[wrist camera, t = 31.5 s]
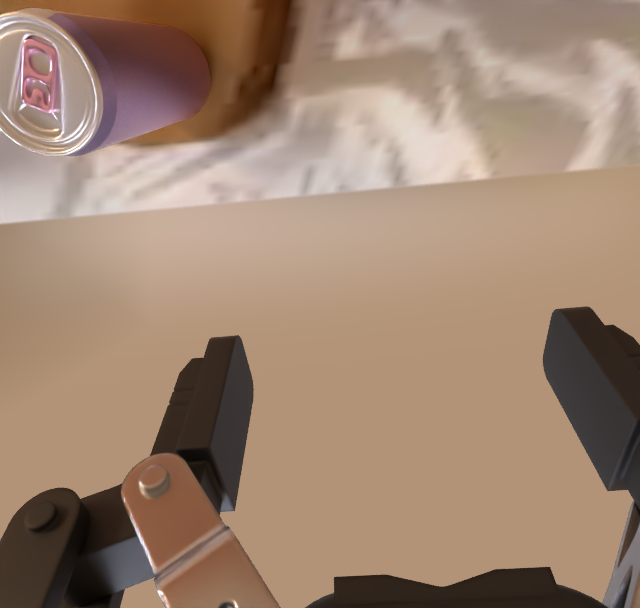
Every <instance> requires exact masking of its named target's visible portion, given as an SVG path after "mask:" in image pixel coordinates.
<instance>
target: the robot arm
mask: <svg viewBox="0 0 640 608" xmlns="http://www.w3.org/2000/svg"><path fill="white" fill-rule="evenodd" d="M543 366H544V371H545V374H546V378H547V380H548V382H549V383H550V385H551V387H552V389H553V391H554V393H555V395H556V396H557V398H558V400H559V402H560V404H561V405H562V408H563V409H564V411H565V413H566V415H567V417H568V419H569V420H570V422H571V424H572V426H573V428H574V430H575V431H576V433H577V435H578V437H579V439H580V441H581V443H582V445H583V446H584V448H585V450H586V452H587V454H588V456H589V457H590V459H591V461H592V463H593V465H594V467H595V468H596V470H597V472H598V474H599V476H600V478H601V480H602V482H603V483H604V485H605V487H606V489H607V490H608V491H615V490H628V491H629V493H630V494H631V496H632V498H633V499H634V501H633V503H632V505H631V507H630V511H629V514H628V518H627V522H626V526H625V529H624V533H623V536H622V540H621V544H620V548H619V551H618V555H617V559H616V562H615V566H614V570H613V573H612V577H611V580H610V583H609V586H608V588H607V591H606V593H605V596H604V599H603V602H602V603H601V602H599V601H597V600H595V599H594V598H592V597H590V596H587V595H585V594H583V593H581V592H579V591H577V590H574V589H571V588H568V587H565V586H562V585H557V584H556V582H555V579H554V577H553V574H552V571H551V569H550V567H538V568H518V569H517V568H516V569H496V570H493V571H490V572H487V573H484V574H481V575H478V576H475V577H472V578H470V579H467V580H464V581H461V582H458V583H455V584H452V585H450V586H445V587H439V586H434V585H429V584H425V583H421V582H416V581H412V580H407V579H403V578H398V577H394V576H390V575H369V576H347V577H334V593H333V594H330V595H327V596H324V597H322V598H320V599H319V600H316V601H314V602H313V603H311V604H310V605H308V606H307V607H306V608H640V345H639V344H638V343H637V341H636V340H635V339H634V338H633V337H632V336H630V335H628V334H627V333H625V332H624V331H622V330H621V329H619V328H617V327H616V326H614V325H604V324H603V323H602V322H601V320H600V319H599V318H598V316H597V315H596V314H595V312H594V311H593V310H592V309H591V308H590V307H576V308H564V309H556V310H554V312H553V313H552V317H551V321H550V325H549V330H548V335H547V340H546V344H545V349H544V354H543ZM169 403H170V405H168V407H167V410H166V413H165V416H164V418H163V421H162V424H161V427H160V430H159V432H158V435H157V438H156V441H155V444H154V446H153V449H152V452H151V454H150V457H148V458H146V459H144V460H142V461H141V462H139V463H138V464H137V465H136V466H135V467H133V468H132V470H131V471H130V472H129V473H128V475H127V476H126V478H125V479H124V481H123V483H122V484H120V485H118V486H116V487H113V488H110V489H108V490H104V491H102V492H99V493H96V494H93V495H90V496H87V497H85V498H82V499H80V498H79V497H78V495H77V494H76V493H75V492H74V491H73V490H71V489H67V488H55V489H50V490H47V491H45V492H42V493H40V494H39V495H37V496H35V497H33V498H32V499H30V500H29V501H28V502H26V503H25V504H24V505H23V506H22V507H21V508H20V509H19V510H18V511H17V512H16V514H15V515H14V516H13V518H12V519H11V521H10V523H9V525H8V527H7V529H6V531H5V533H4V535H3V537H2V538H1V540H0V608H120V605H121V601H122V597H123V594H124V590H125V589H126V588H128V587H131V586H133V585H135V584H138V583H141V582H143V581H146V580H148V579H151V578H153V577H155V578H154V582H155V585H156V588H157V590H158V593H159V595H160V597H161V600H162V601H163V604H164V606H165V608H280V606H279V604H278V603H277V601H276V600H275V598H274V597H273V595H272V593H271V592H270V590H269V589H268V587H267V585H266V584H265V582H264V581H263V579H262V577H261V576H260V574H259V573H258V571H257V569H256V568H255V566H254V565H253V563H252V561H251V560H250V558H249V557H248V555H247V554H246V552H245V551H244V549H243V547H242V546H241V544H240V542H239V541H238V539H237V538H236V536H235V535H234V533H233V532H232V530H231V529H230V528H229V527H228V526H227V527H226V525H225V524H224V522H223V521H222V519H221V518H220V512H225V511H235V506H236V500H237V494H238V488H239V481H240V476H241V470H242V464H243V458H244V452H245V446H246V440H247V433H248V427H249V421H250V415H251V409H252V403H253V380H252V376H251V372H250V369H249V365H248V362H247V357H246V354H245V350H244V347H243V343H242V340H241V338H240V336H238V335H237V336H226V337H214V338H211V339H210V340H209V342H208V345H207V349H206V352H205V355H204V358H194V359H191V361H190V362H189V363H188V364H187V365H186V366H185V368H184V369H183V370H182V371H181V372H180V373H179V376H178V379H177V382H176V385H175V387H174V392H173V393H172V396H171V399H170V401H169Z"/></svg>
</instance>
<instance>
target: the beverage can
mask: <svg viewBox="0 0 640 608" xmlns="http://www.w3.org/2000/svg"><path fill="white" fill-rule="evenodd" d="M209 90H210V71H209V67H208V63H207V60H206V58H205V56H204V54H203V52H202V50H201V49H200V47H199V46H198V44H197V43H196V42H195V41H194V40H193V39H192V38H191V37H190V36H189V35H188V34H186V33H185V32H183V31H181V30H180V29H177V28H175V27H172V26H167V25H160V24H152V23H145V22H137V21H130V20H122V19H115V18H107V17H100V16H92V15H85V14H77V13H70V12H62V11H55V10H47V9H39V8H28V9H22V10H18V11H16V12H9V13H4V14H2V15H0V130H1V131H2V132H3V133H4V134H5V135H6V136H7V137H9V138H10V139H11V140H12V141H14V142H15V143H17V144H18V145H20V146H21V147H23V148H25V149H27V150H29V151H32V152H34V153H37V154H41V155H46V156H79V155H83V154H87V153H90V152H93V151H95V150H98V149H101V148H104V147H107V146H110V145H113V144H116V143H119V142H122V141H125V140H128V139H131V138H134V137H136V136H139V135H142V134H145V133H148V132H151V131H154V130H157V129H160V128H163V127H166V126H169V125H172V124H175V123H177V122H180V121H183V120H186V119H189V118H191V117H192V116H194V115H195V114H197V113H198V112H199V111H200V110H201V108H202V107H203V106H204V104H205V102H206V100H207V98H208V95H209Z"/></svg>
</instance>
